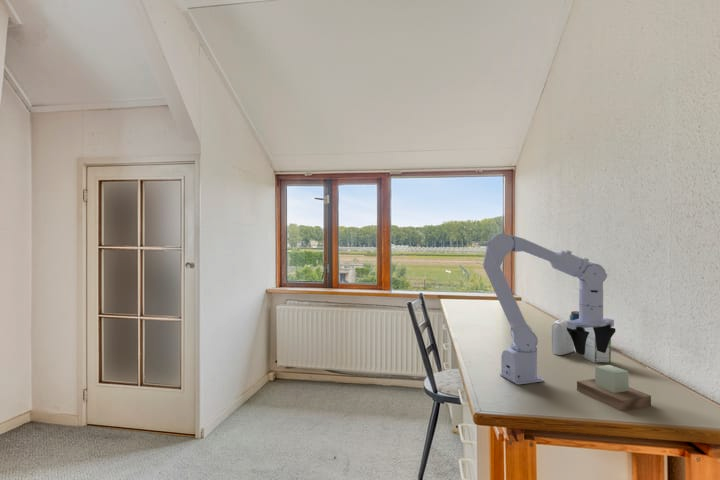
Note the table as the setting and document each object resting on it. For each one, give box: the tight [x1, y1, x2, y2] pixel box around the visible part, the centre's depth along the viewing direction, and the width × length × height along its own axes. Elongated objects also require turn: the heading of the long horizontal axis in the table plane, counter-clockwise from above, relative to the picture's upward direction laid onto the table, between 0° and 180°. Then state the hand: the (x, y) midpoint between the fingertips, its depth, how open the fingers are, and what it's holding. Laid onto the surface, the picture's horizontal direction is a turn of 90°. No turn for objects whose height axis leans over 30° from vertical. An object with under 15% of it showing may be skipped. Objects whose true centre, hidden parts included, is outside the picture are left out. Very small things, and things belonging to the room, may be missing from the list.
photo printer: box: [551, 318, 575, 356], centre depth 127 cm, size 10×4×12 cm, turn 123°
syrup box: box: [582, 317, 612, 364], centre depth 118 cm, size 6×6×14 cm
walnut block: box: [576, 378, 652, 412], centre depth 90 cm, size 10×12×3 cm
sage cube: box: [594, 364, 630, 393], centre depth 90 cm, size 5×5×5 cm
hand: (590, 352), depth 97 cm, fingers open, 7 cm apart
